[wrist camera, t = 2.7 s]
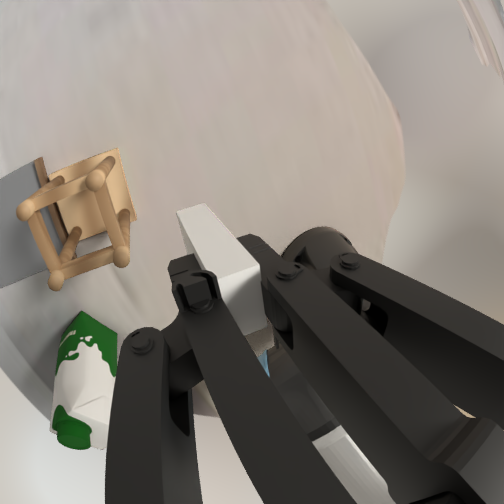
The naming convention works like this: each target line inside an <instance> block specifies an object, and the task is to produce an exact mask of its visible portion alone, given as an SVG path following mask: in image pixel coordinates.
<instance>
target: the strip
mask: <svg viewBox="0 0 504 504" xmlns="http://www.w3.org/2000/svg"><path fill="white" fill-rule="evenodd" d="M34 163H35V167H36V170H37V174H38V178H39V181H40V184H41V187H43V186H44V185H46V184H47V183H48V182H49V180H48V176H47V173H46V169H45V166H44V162H43V158H42V157H40V158H38V159H36V160H34ZM48 209H49V211H50V214H51V217H52V220H53V222H54V225H55V227H56V230H57V232H58V235H59V237H60V240H61V242H62V245H63V246H64V244H65V242H66V240H67V238H68V234H67V232H66V229H65V227H64V224H63V221H62V219H61V216H60V213H59V211H58V208H57V205H56V202H54V203H52V204H50V205H48ZM76 258H77V256H76V253H75V252H74V254H73V257H72V259H71V260H74V259H76Z"/></svg>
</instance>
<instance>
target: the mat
mask: <svg viewBox="0 0 504 504" xmlns="http://www.w3.org/2000/svg"><path fill="white" fill-rule="evenodd" d="M40 188H41V184H40V181H39V178H38V174H37V170H36V167H35V163H34V161H32V162H30V163H29V164H27V165H25V166H23V167H21V168H19V169H17V170H15V171H14V172H12V173H10V174H8V175H6V176H5V177H3V178H1V179H0V288H3V287H5V286H8V285H10V284H12V283H14V282H17V281H19V280H21V279H24V278H26V277H28V276H31V275H33V274H36V273H38V272H40V271H43V270H45V269H48V267H47V265H46V263H45V261H44V259H43V257H42V255H41V252H40V250H39V248H38V246H37V243H36V241H35V239H34V236H33V234H32V232H31V229H30V226H29V224H28V221H20V220H19V219H18V218H17V216H16V209H17V207H18V205H20V204H21V203H22V202H23V201H25V200H26V199H27V198H28V197H30V196H31V195H32V194H34V193H35V192H36V191H37V190H39V189H40ZM40 212H41V215H42V218H43V220H44V223H45V225H46V228H47V231H48V233H49V235H50V238H51V240H52V243H53V245H54V247H55V250H56V252H57V254H58V256H59V255H60V253H61V251H62V248H63V245H62V242H61V240H60V237H59V235H58V232H57V230H56V227H55V225H54V222H53V220H52V217H51V214H50V211H49V209H48V206H45V207H43V208H41V209H40Z"/></svg>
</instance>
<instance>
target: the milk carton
mask: <svg viewBox="0 0 504 504" xmlns="http://www.w3.org/2000/svg"><path fill="white" fill-rule="evenodd" d="M116 372H117V333H116V332H114V331H112V330H111V329H109V328H108V327H106V326H104V325H103V324H101V323H100V322H98V321H97V320H95V319H94V318H92V317H91V316H89V315H88V314H86V313H85V312H83V311H81V312H80V313H79V314H78V316H77V317H76V318H75V320H74V321H73V322H72V323H71V325H70V326H69V327H68V328H67V330H66V331H65V332H64V334H63V335H62V338H61V342H60V346H59V351H58V358H57V365H56V373H55V382H54V393H53V403H52V412H51V421H50V432H52V433H54V434H56V435H57V440H58V441H59V443H61V444H62V445H64V446H66V447H68V448H72V449H77V450H84V449H88V448H90V446H91V447H94V448H97V449H101V450H103V449H104V448H106V447H107V439H108V429H109V420H110V411H111V404H112V397H113V390H114V384H115V378H116Z"/></svg>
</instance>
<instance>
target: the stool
mask: <svg viewBox="0 0 504 504" xmlns="http://www.w3.org/2000/svg"><path fill="white" fill-rule="evenodd" d="M49 179H50V182H48V183H47V184H46V185H44V186H43V187H41V188H40V189H39V190H37V191H36V192H35V193H34V194H32V195H31V196H30V197H28V198H27V199H26V200H25V201H23V202H22V203H21V204H20V205H18V207H17V209H16V216H17V218H18V219H19V220H20V221H28V224H29V226H30V229H31V232H32V234H33V236H34V239H35V241H36V243H37V246H38V248H39V250H40V252H41V255H42V257H43V259H44V261H45V263H46V265H47V267H48V269H49V271H50V273H51V275H50V277H49V279H48V286H49V288H50V289H51V290H53V291H59V290H61V288H62V285H63V282H64V280H66V279H68V278H71V277H74V276H76V275H79V274H82V273H85V272H87V271H90V270H93V269H96V268H98V267H101V266H104V265H107V264H110V263H114V264H115V266H117V267H119V268H124V267H126V266H127V265H128V264H129V262H130V222H133V221H136V220H137V216H136V212H135V209H134V206H133V202H132V199H131V196H130V192H129V189H128V185H127V181H126V178H125V174H124V170H123V166H122V162H121V158H120V154H119V150H118V148H116V149H113V150H110V151H107V152H104V153H101V154H98V155H96V156H93V157H90V158H88V159H85V160H82V161H80V162H77V163H75V164H73V165H70V166H68V167H65V168H63V169H61V170H58V171H56V172H54V173H52V174H50V175H49ZM54 202H57V204H58V207H59V210H60V213H61V215H62V218H63V221H64V224H65V226H66V229H67V231H68V234H69V236H68V238H67V240H66V242H65V244H64V246H63V248H62V251H61V253H60V255H59V256H58V254H57V252H56V250H55V247H54V245H53V243H52V240H51V238H50V235H49V233H48V231H47V228H46V225H45V223H44V220H43V218H42V215H41V212H40V209H41V208H43V207H45V206H48V205H50V204H52V203H54ZM104 231H107V232H108V235H109V238H110V241H111V243H112V246H109V247H106V248H103V249H101V250H98V251H95V252H92V253H90V254H87V255H84V256H82V257H79V258H76V259H74V260H71V259H72V257H73V254H74V252H75V249H76V247H77V244H78V242H79V241H80V240H83V239H85V238H88V237H91V236H93V235H96V234H99V233H101V232H104Z"/></svg>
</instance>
